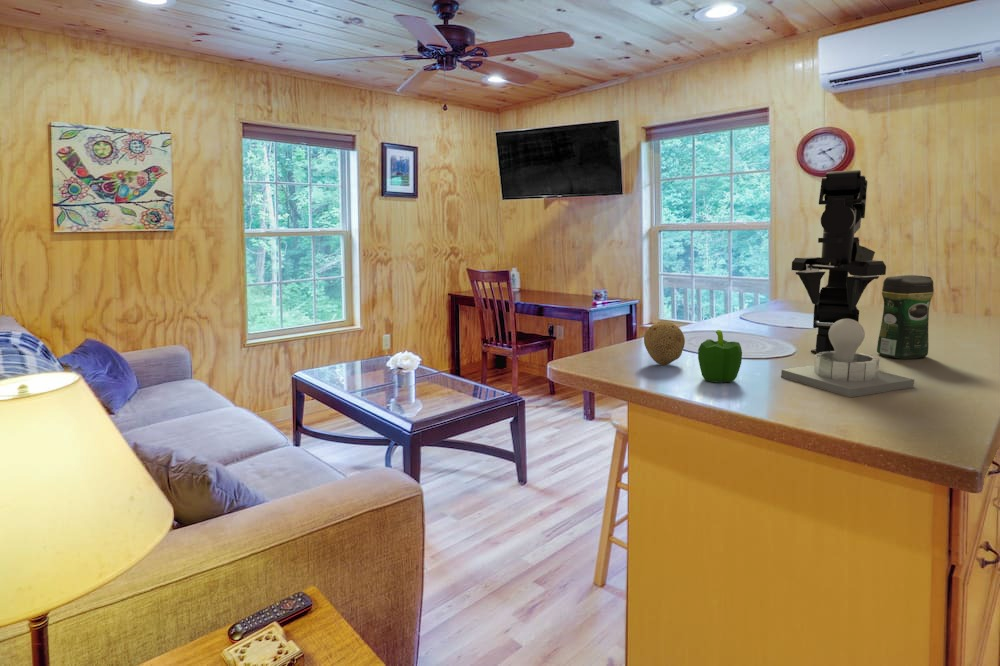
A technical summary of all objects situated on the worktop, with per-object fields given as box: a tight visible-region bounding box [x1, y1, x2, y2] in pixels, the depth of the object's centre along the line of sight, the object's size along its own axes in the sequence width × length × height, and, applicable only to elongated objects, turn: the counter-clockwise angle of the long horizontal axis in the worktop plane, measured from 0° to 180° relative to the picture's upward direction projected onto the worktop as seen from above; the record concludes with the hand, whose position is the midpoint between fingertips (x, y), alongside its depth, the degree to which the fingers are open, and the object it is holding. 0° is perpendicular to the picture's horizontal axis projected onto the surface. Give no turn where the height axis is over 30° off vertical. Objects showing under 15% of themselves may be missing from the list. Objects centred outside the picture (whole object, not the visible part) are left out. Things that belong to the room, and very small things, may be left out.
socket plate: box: [780, 364, 915, 398], centre depth 116 cm, size 16×16×2 cm
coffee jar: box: [876, 274, 934, 360], centre depth 135 cm, size 10×8×19 cm
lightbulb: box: [828, 319, 866, 362], centre depth 116 cm, size 6×6×11 cm
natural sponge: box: [643, 320, 686, 366], centre depth 133 cm, size 9×9×10 cm
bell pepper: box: [697, 329, 743, 383], centre depth 119 cm, size 8×8×10 cm
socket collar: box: [814, 351, 880, 382], centre depth 116 cm, size 10×10×4 cm
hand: (832, 306), depth 127 cm, fingers open, 9 cm apart
